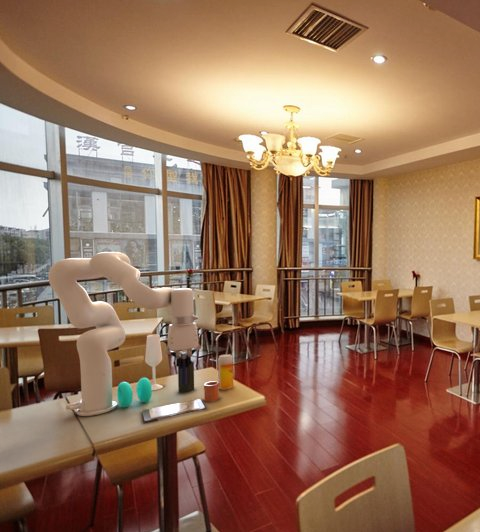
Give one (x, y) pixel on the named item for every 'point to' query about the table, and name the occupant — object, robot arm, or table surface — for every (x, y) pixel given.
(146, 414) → the tablet
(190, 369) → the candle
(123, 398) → the pair of turquoise ovals
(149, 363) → the champagne flute
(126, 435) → the table surface
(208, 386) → the pen cup
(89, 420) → the table surface
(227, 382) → the beer glass
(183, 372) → the marker
